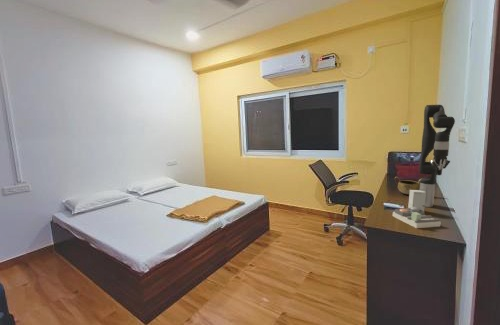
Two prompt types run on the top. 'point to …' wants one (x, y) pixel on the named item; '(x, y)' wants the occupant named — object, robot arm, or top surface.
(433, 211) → the top surface
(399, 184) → the tan woven basket
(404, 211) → the terracotta button
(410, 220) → the panel
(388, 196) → the top surface
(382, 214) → the top surface
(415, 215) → the sage slider
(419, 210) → the grey button
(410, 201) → the skincare box
